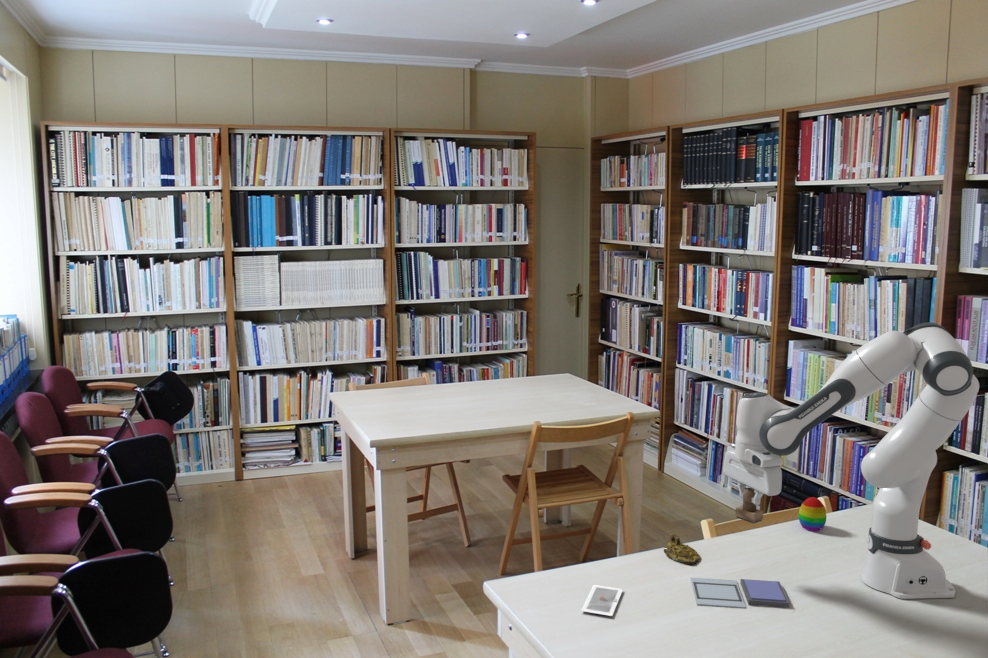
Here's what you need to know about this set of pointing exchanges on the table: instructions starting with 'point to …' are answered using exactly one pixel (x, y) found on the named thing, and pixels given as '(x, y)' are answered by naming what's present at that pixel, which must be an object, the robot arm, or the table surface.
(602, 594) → the touchpad
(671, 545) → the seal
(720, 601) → the marked card
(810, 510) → the decorative egg
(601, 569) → the table surface
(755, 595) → the ink pad
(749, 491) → the stamp
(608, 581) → the table surface
